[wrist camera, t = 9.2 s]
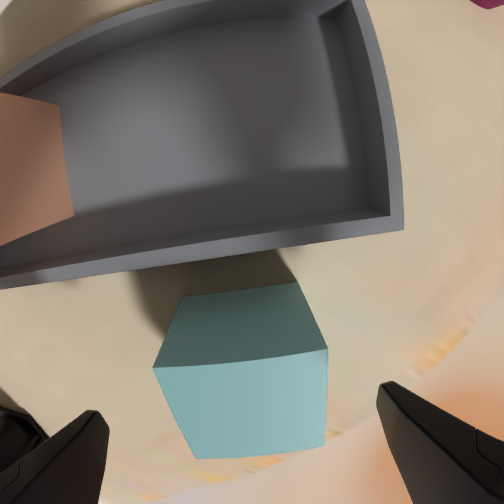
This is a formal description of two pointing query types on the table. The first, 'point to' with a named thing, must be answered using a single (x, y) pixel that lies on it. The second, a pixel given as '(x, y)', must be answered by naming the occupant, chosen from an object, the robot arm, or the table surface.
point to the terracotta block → (31, 167)
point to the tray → (212, 135)
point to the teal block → (246, 372)
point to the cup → (488, 3)
